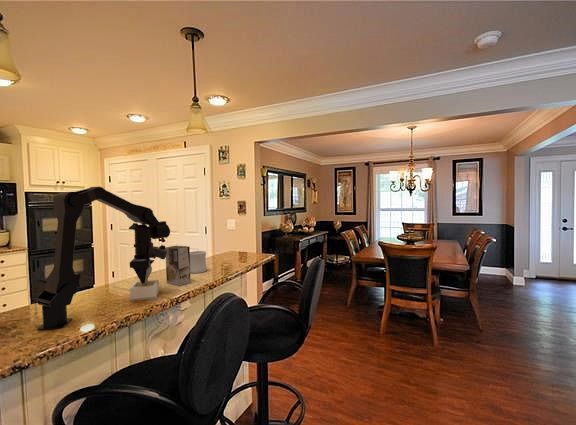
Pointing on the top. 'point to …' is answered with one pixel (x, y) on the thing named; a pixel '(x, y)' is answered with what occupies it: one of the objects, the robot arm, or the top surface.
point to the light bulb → (147, 276)
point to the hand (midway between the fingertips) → (144, 281)
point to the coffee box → (178, 265)
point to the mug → (197, 261)
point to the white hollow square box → (144, 290)
